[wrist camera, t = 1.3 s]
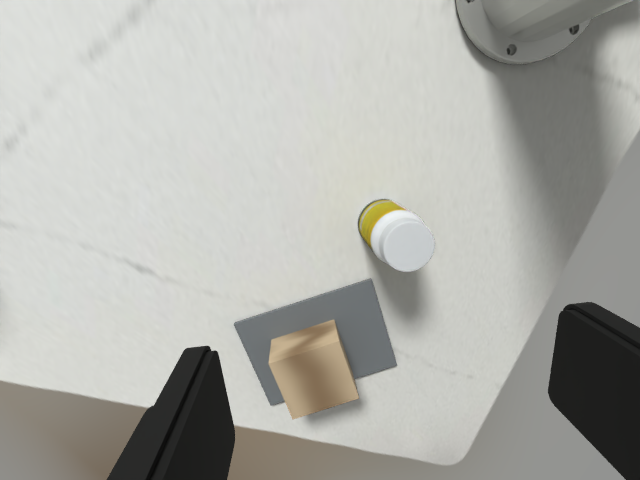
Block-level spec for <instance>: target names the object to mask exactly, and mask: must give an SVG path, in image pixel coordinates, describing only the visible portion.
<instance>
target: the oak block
mask: <svg viewBox="0 0 640 480" xmlns="http://www.w3.org/2000/svg"><path fill="white" fill-rule="evenodd" d="M269 366H270V368H271V371H272V373H273V375H274V378H275V380H276V382H277V384H278V387H279V389H280V391H281V394H282V396H283V398H284V400H285V403H286V405H287V407H288V410H289V412H290V414H291V416H292V419H296V418H299V417H302V416H305V415H308V414H311V413H315V412H318V411H321V410H324V409H327V408H330V407H333V406H337V405H340V404H343V403H346V402H349V401H352V400H355V399H359V396H358V392H357V388H356V384H355V380H354V376H353V372H352V369H351V366H350V363H349V361H348V358H347V355H346V352H345V349H344V346H343V343H342V340H341V338H340V335H339V332H338V329H337V326H336V323H335V320H334V319H333V320H330V321H327V322H324V323H321V324H318V325H315V326H312V327H309V328H306V329H303V330H299V331H296V332H293V333H290V334H287V335H284V336H281V337H278V338H275V339H272V340H271V347H270V355H269Z"/></svg>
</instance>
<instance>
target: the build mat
mask: <svg viewBox="0 0 640 480" xmlns="http://www.w3.org/2000/svg"><path fill="white" fill-rule="evenodd" d="M333 319H334V320H335V323H336V326H337V329H338V332H339V335H340V338H341V340H342V343H343V346H344V349H345V352H346V355H347V358H348V361H349V363H350V366H351V369H352V372H353V376H354V379H355V378H359V377H362V376H365V375H368V374H371V373H374V372H377V371H380V370H384V369H387V368H390V367H393V366H396V365H397V363H396V360H395V356H394V353H393V350H392V346H391V343H390V339H389V336H388V333H387V329H386V326H385V322H384V319H383V316H382V312H381V309H380V305H379V302H378V299H377V295H376V292H375V288H374V285H373V282H372V279H371V278H370V279H367V280H364V281H361V282H358V283H355V284H352V285H349V286H346V287H343V288H340V289H337V290H334V291H330V292H327V293H324V294H321V295H318V296H315V297H312V298H309V299H306V300H303V301H300V302H297V303H294V304H290V305H287V306H284V307H281V308H278V309H275V310H272V311H269V312H266V313H263V314H260V315H257V316H254V317H250V318H247V319H244V320H241V321H238V322H235V323H234V326H235V328H236V330H237V333H238V335H239V337H240V339H241V341H242V344H243V346H244V348H245V350H246V352H247V354H248V357H249V359H250V361H251V363H252V365H253V368H254V370H255V372H256V374H257V376H258V379H259V381H260V383H261V385H262V387H263V390H264V392H265V394H266V396H267V398H268V401H269V403H270V405H274V404H277V403H280V402H284V401H285V400H284V398H283V396H282V394H281V391H280V389H279V387H278V384H277V382H276V380H275V378H274V375H273V373H272V371H271V368H270V366H269V355H270V347H271V340H272V339H275V338H278V337H281V336H284V335H287V334H290V333H293V332H296V331H299V330H303V329H306V328H309V327H312V326H315V325H318V324H321V323H324V322H327V321H330V320H333Z"/></svg>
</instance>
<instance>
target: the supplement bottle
mask: <svg viewBox="0 0 640 480" xmlns="http://www.w3.org/2000/svg"><path fill="white" fill-rule="evenodd" d="M358 230H359V232H360V234H361V236H362V238H363V239H364V240H365V242H366V243H367V244H368V246H369V247H370V248H371V250H372V251H373V253H374V254H375V255H376V256H377V257H378V258H379V259H380V260H381V261H383V262H384V263H387V264H389V265H390V266H391V267H392V268H394V269H396V270H398V271H402V272H412V271H415V270H418V269H420V268H422V267H423V266H424V265H426V264H427V263H428V261H429V260H430V259H431V257H432V255H433V253H434V249H435V239H434V236H433V234H432V232H431V231H430V229H429V228H428V227H427V226H426V225H425V223H424V221H423V220H422V219H421V218H420V217H419V216H418V215H417V214H415V213H414V212H412V211H410V210H408V209H406V208H405V207H403V206H401V205H399V204H398V203H396V202H394V201H392V200H389V199H376V200H373V201H371V202H369V203H368V204H367V205H366V206H365V207H364V208H363V209H362V210H361V212H360V214H359V217H358Z"/></svg>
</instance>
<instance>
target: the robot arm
mask: <svg viewBox="0 0 640 480" xmlns="http://www.w3.org/2000/svg"><path fill="white" fill-rule="evenodd" d="M631 1H634V0H468V2H467V1H466V0H456V5H457V11H458V14H459V17H460V21H461V24H462V26H463V28H464V30H465V32H466V34H467V36H468V37H469V39H470V40H471V41H472V42H473V43H474V45H475V46H476V47H477V48H478V49H479V50H480V51H482V52H483V53H484V54H485V55H487V56H488V57H490V58H492V59H494V60H496V61H499V62H503V63H507V64H528V63H532V62H537V61H540V60H542V59H545V58H548V57H551V56H552V55H554V54H556V53H558V52H560V51H561V50H563V49H564V48H566V47H567V46H568V45H569V44H571V43H572V42H573V41H574V40H576V39H577V37H578V36H579V35H580V34H581V33H582V32H583V31H584V30H585V28H586V27H587V26H588V24H589V23H590V21H591V20H592V18H594V17H596V16H598V15H601V14H603V13H605V12H608V11H610V10H612V9H615V8H617V7H619V6H622V5H624V4H627V3H629V2H631ZM548 394H549V397H550V400H551V401H552V403H553V404H554V406H555V407H556V408H557V409H558V410H559V411H560V412H561V413H562V414H563V415H564V416H565V417H566V418H567V419H568V420H569V421H570V422H571V423H572V424H573V425H574V426H575V427H576V428H577V429H578V430H579V431H580V432H581V434H582V435H583V436H584V437H585V438H586V439H587V440H588V441H589V442H590V443H591V444H592V445H593V446H594V447H595V448H596V449H597V450H598V451H599V452H600V453H601V454H602V455H603V456H604V457H605V458H606V459H607V460H608V462H609V463H611V465H612V466H613V467H614V468H615V469H616V470H617V471H618V472H619V473H620V474H621V475H622V476H623V477H624V478H625V479H626V480H640V328H639V327H637V326H635V325H634V324H632V323H630V322H628V321H626V320H625V319H623V318H621V317H619V316H617V315H615V314H613V313H612V312H610V311H608V310H606V309H604V308H603V307H601V306H599V305H597V304H595V303H592V302H586V303H577V304H569V305H567V306H566V307H565V308H564V309H563V311H561V313H560V314H559V319H558V325H557V332H556V339H555V347H554V353H553V360H552V367H551V374H550V381H549V387H548ZM234 443H235V430H234V424H233V420H232V415H231V411H230V406H229V401H228V397H227V392H226V387H225V383H224V378H223V373H222V369H221V364H220V360H219V355H218V352H217V351H211V349H210V347H209V346H201V347H193V348H186V349H185V350H184V351H183V353H182V355H181V357H180V359H179V361H178V362H177V364H176V366H175V368H174V370H173V372H172V373H171V375H170V377H169V379H168V381H167V383H166V384H165V386H164V388H163V390H162V392H161V394H160V395H159V397H158V399H157V401H156V403H155V405H154V406H151V407H150V408H148V409H147V411H146V412H145V414H144V415H143V417H142V418H141V420H140V422H139V424H138V425H137V427H136V429H135V431H134V433H133V434H132V436H131V438H130V440H129V441H128V443H127V445H126V447H125V448H124V450H123V452H122V454H121V456H120V457H119V459H118V461H117V463H116V464H115V466H114V468H113V470H112V472H111V473H110V475H109V477H108V478H107V480H227V477H228V472H229V467H230V463H231V458H232V453H233V448H234Z"/></svg>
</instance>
